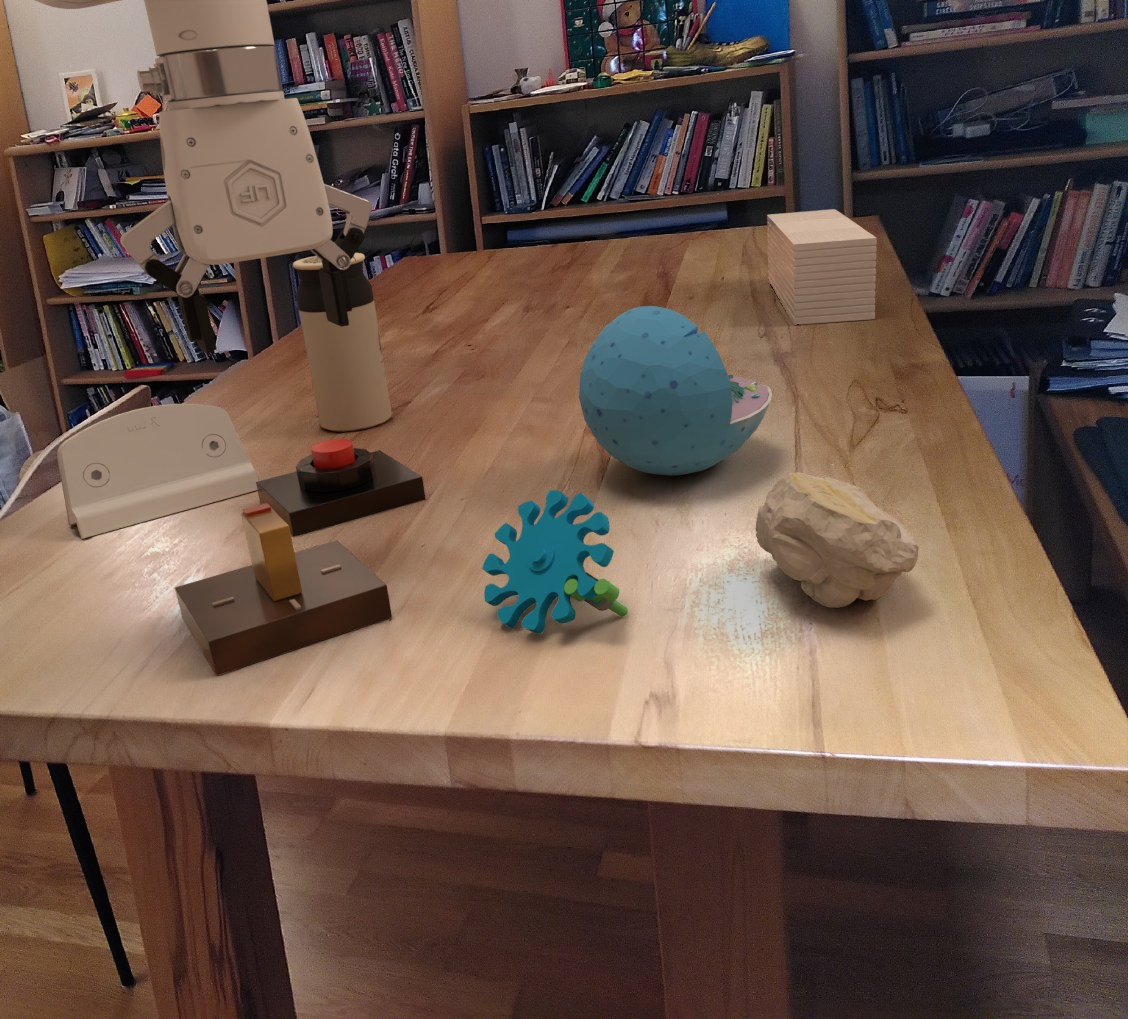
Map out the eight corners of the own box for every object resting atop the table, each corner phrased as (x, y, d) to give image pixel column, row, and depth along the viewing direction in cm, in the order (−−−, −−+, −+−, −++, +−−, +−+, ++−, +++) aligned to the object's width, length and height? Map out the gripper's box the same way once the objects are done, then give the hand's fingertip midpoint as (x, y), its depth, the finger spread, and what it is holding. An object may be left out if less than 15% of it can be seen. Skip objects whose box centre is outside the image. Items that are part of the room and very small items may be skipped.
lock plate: (216, 676, 66) (207, 639, 65) (182, 618, 74) (173, 585, 73) (392, 617, 71) (386, 582, 70) (342, 569, 79) (336, 537, 78)
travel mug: (318, 437, 112) (286, 268, 105) (322, 416, 119) (293, 257, 113) (392, 427, 113) (366, 259, 106) (392, 407, 120) (367, 249, 114)
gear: (452, 586, 71) (533, 464, 72) (503, 615, 75) (580, 500, 76) (551, 662, 63) (641, 525, 64) (602, 690, 68) (686, 562, 68)
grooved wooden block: (874, 319, 140) (876, 237, 136) (794, 325, 141) (793, 243, 137) (834, 277, 169) (835, 208, 165) (768, 282, 170) (767, 214, 166)
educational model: (812, 450, 95) (812, 284, 89) (682, 519, 83) (672, 332, 77) (677, 424, 105) (669, 274, 99) (544, 482, 93) (527, 315, 88)
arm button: (322, 474, 89) (318, 455, 89) (309, 464, 92) (305, 445, 92) (361, 464, 91) (358, 445, 90) (347, 454, 94) (344, 435, 93)
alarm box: (293, 537, 86) (284, 492, 85) (260, 504, 94) (251, 462, 93) (426, 499, 92) (419, 457, 90) (383, 471, 100) (377, 431, 98)
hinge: (78, 539, 90) (41, 427, 89) (73, 541, 94) (38, 434, 93) (265, 487, 98) (233, 384, 97) (253, 491, 102) (222, 392, 101)
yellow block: (303, 593, 70) (288, 521, 68) (273, 602, 69) (258, 529, 67) (282, 569, 74) (268, 501, 72) (254, 577, 73) (239, 509, 71)
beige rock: (819, 542, 77) (720, 596, 72) (806, 436, 74) (701, 485, 69) (961, 582, 67) (858, 648, 62) (952, 462, 64) (843, 521, 59)
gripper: (91, 92, 62) (161, 370, 69) (365, 67, 70) (404, 321, 76) (77, 97, 68) (142, 352, 75) (330, 74, 76) (369, 308, 82)
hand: (274, 336), depth 76 cm, fingers open, 9 cm apart
